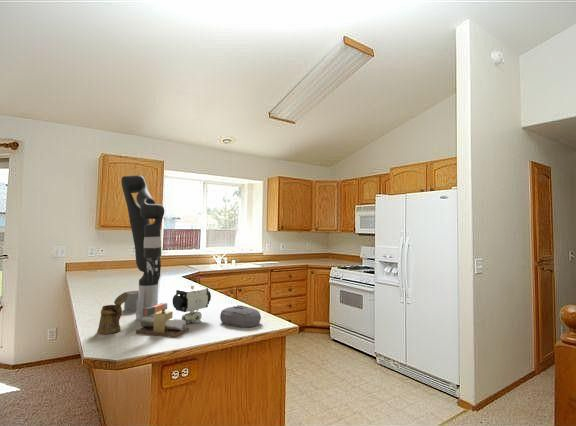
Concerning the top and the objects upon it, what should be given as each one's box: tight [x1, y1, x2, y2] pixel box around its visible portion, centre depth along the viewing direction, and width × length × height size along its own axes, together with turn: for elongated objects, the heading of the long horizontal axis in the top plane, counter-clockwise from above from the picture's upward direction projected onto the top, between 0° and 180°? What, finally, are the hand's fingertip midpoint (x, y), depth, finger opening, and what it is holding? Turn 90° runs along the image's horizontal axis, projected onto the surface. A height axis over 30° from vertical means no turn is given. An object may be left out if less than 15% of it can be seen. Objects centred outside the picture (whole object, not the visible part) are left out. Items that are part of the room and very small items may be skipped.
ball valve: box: [172, 285, 212, 324], centre depth 163 cm, size 18×8×18 cm, turn 142°
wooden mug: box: [96, 291, 128, 336], centre depth 146 cm, size 9×14×18 cm, turn 69°
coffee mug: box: [123, 290, 139, 313], centre depth 190 cm, size 13×10×10 cm
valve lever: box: [143, 302, 168, 316], centre depth 142 cm, size 14×3×3 cm, turn 165°
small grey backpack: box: [219, 304, 262, 328], centre depth 161 cm, size 15×8×20 cm
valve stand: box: [135, 310, 190, 338], centre depth 146 cm, size 20×10×10 cm, turn 75°
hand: (152, 282), depth 152 cm, fingers open, 8 cm apart
